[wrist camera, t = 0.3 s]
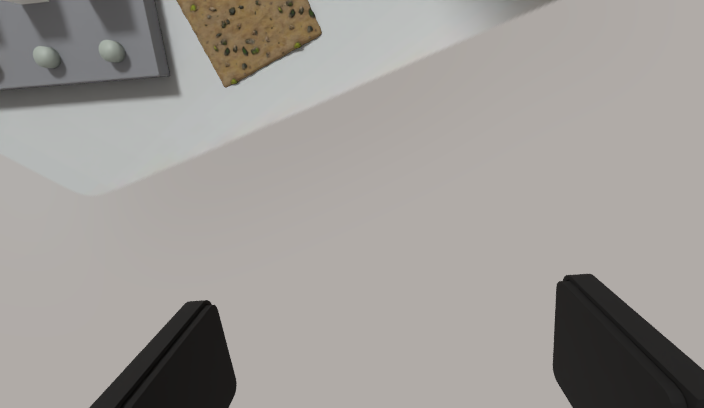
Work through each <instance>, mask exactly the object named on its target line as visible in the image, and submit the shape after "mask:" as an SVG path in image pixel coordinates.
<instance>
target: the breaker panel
mask: <svg viewBox="0 0 704 408" xmlns="http://www.w3.org/2000/svg"><path fill="white" fill-rule="evenodd" d="M165 76H170V73H169V69H168V64H167V59H166V54H165V49H164V44H163V40H162V35H161V30H160V25H159V20H158V15H157V10H156V6H155V1H154V0H0V90H8V89H20V88H32V87H44V86H56V85H69V84H81V83H93V82H105V81H117V80H129V79H141V78H153V77H165Z"/></svg>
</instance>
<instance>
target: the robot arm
mask: <svg viewBox="0 0 704 408" xmlns="http://www.w3.org/2000/svg"><path fill="white" fill-rule="evenodd" d="M553 371H554V375H555V378H556V380H557V382H558V384H559V386H560V387H561V389H562V391H563V392H564V394H565V395H566V397H567V399H568V400H569V402H570V404H571V405H572V407H573V408H704V370H703V369H702V368H701V367H699V366H698V365H697V364H696V363H695V362H693V361H692V360H691V359H690V358H689V357H688V356H687V355H685V354H684V353H683V352H682V351H681V350H680V349H678V348H677V347H676V346H675V345H674V344H673V343H671V342H670V341H669V340H668V339H667V338H666V337H664V336H663V335H662V334H661V333H660V332H659V331H657V330H656V329H655V328H654V327H653V326H652V325H650V324H649V323H648V322H647V321H646V320H645V319H643V318H642V317H641V316H640V315H639V314H638V313H636V312H635V311H634V310H633V309H632V308H630V307H629V306H628V305H627V304H626V303H625V302H624V301H622V300H621V299H620V298H619V297H618V296H617V295H615V294H614V293H613V292H612V291H611V290H610V289H609V288H607V287H606V286H605V285H604V284H603V283H602V282H600V281H599V280H598V279H597V278H596V277H595V276H593V275H592V274H580V275H566V276H565V277H564V279H563V281H559V282H558V283H557V289H556V310H555V331H554V353H553ZM235 392H236V378H235V374H234V370H233V366H232V362H231V359H230V355H229V351H228V347H227V343H226V340H225V336H224V332H223V328H222V324H221V321H220V316H219V313H218V309H217V307H216V306H215V305H212V304H211V303H210V301H208V300H205V301H190V302H187V303H185V304H184V305H183V306H182V308H181V309H180V310H179V311H178V312H177V313H176V314H175V315H174V316H173V317H172V319H171V320H170V321H169V322H168V323H167V324H166V325H165V326H164V327H163V328H162V329H161V330H160V332H159V333H158V334H157V335H156V336H155V337H154V338H153V339H152V340H151V341H150V342H149V343H148V345H147V346H146V347H145V348H144V349H143V350H142V351H141V352H140V353H139V354H138V355H137V357H136V358H135V359H134V360H133V361H132V362H131V363H130V364H129V365H128V366H127V367H126V368H125V370H124V371H123V372H122V373H121V374H120V375H119V376H118V377H117V378H116V379H115V381H114V382H113V383H112V384H111V385H110V386H109V387H108V388H107V389H106V390H105V391H104V392H103V394H102V395H101V396H100V397H99V398H98V399H97V400H96V401H95V402H94V403H93V404H92V406H91V407H90V408H229V405H230V403H231V401H232V399H233V397H234V395H235Z"/></svg>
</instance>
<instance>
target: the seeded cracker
mask: <svg viewBox="0 0 704 408" xmlns="http://www.w3.org/2000/svg"><path fill="white" fill-rule="evenodd" d="M177 2H178V4H179V5H180V7H181V9H182V12H183V14H184V15H185V17H186V18H187V19H188V21H189V23H190V25H191V27H192V29H193V31H194V32H195V33H196V35H197V38H198V40H199V42H200V43H201V45H202V46H203V48H204V51H205V53H206V54H207V55H208V57H209V59H210V61H211V63H212V64H213V67H214V69H215V70H216V72H217V74H218V76H219V77H220V79H221V81H222V83H223V85H224V87H228V86H230V85H232V84H236V83H238V82H239V81H240V80H241V79H243V78H246V77H247V76H249V75H251V74H253V73H254V72H256V71H257V70H259V69H260V68H262V67H264V66H267V65H268V64H270V63H271V62H273V61H275V60H277V59H279V58H281V57H283V56H285V55H286V54H288V53H289V52H291V51H293V50H295V49H297V48H300V47H301V46H302V45H303V44H305V43H308V42H310V41H311V40H313V39H315V38H317V37H318V36H320V35H321V33H322V32H321V29H320V26H319V24H318V22H317V20H316V18H315V15H314V13H313V12H312V10H311V7H310V5H309V2H308V0H177Z"/></svg>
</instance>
